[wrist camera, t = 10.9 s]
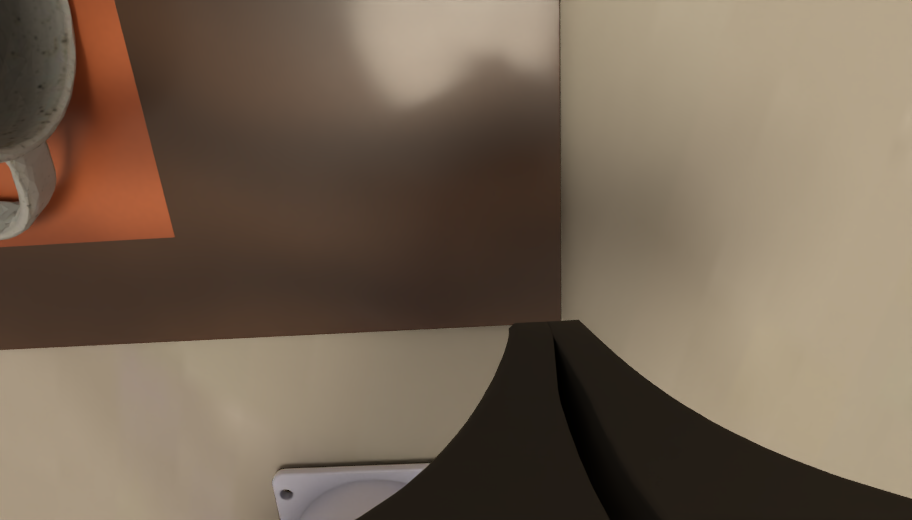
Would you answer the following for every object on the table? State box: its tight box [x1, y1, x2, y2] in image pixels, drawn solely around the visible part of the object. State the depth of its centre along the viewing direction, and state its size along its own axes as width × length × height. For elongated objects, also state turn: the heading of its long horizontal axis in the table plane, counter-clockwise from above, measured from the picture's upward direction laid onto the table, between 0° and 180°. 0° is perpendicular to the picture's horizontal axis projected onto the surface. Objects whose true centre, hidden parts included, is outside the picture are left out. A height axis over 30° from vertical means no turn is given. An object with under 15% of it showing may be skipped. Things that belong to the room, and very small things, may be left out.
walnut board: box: [0, 0, 561, 350], centre depth 20 cm, size 15×25×1 cm, turn 94°
